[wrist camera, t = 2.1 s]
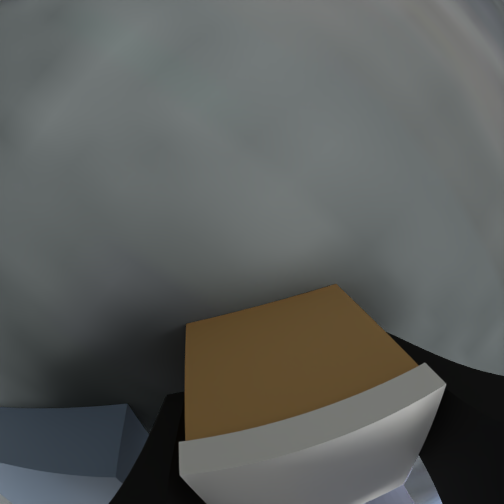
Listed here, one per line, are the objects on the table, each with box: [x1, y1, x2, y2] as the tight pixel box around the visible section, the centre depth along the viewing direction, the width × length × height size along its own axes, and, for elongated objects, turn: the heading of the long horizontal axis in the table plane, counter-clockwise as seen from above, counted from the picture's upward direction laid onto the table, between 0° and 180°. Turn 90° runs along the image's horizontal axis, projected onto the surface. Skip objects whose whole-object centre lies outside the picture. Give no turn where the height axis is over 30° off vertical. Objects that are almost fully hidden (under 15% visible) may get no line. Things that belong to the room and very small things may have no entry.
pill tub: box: [179, 284, 446, 504], centre depth 8 cm, size 5×5×6 cm
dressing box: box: [0, 403, 149, 504], centre depth 10 cm, size 13×11×4 cm
